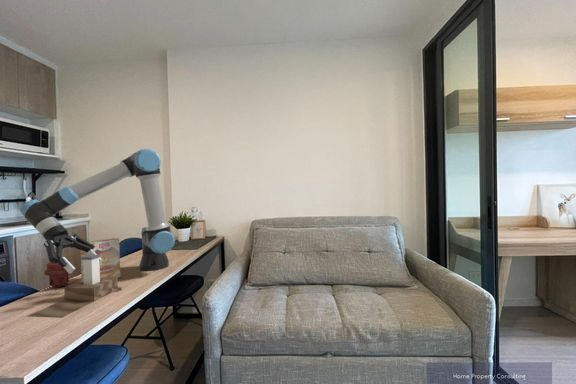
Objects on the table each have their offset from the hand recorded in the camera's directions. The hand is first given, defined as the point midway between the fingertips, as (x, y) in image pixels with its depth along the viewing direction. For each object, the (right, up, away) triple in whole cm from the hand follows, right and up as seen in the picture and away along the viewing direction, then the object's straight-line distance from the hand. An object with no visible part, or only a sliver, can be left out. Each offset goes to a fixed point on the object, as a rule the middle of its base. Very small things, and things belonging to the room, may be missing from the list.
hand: (86, 266), depth 120 cm
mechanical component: (-23, -13, +15) cm, 30 cm away
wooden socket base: (+1, -13, -6) cm, 14 cm away
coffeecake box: (-8, -13, +23) cm, 27 cm away
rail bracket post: (+2, -12, +1) cm, 12 cm away
